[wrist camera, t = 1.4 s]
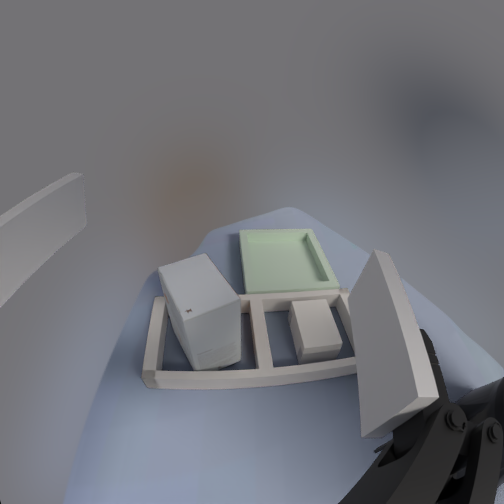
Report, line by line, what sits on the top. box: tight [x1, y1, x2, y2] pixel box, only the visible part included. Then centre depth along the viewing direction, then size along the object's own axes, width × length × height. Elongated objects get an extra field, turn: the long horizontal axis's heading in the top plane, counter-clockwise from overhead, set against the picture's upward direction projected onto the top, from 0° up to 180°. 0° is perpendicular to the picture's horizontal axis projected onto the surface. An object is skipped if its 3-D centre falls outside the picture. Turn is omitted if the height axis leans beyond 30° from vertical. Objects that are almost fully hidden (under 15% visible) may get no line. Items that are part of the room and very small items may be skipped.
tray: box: [239, 229, 340, 294], centre depth 43 cm, size 13×15×2 cm
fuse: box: [288, 299, 343, 365], centre depth 32 cm, size 5×7×4 cm, turn 6°
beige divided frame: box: [141, 288, 357, 390], centre depth 31 cm, size 26×12×3 cm, turn 96°
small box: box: [158, 253, 241, 371], centre depth 28 cm, size 8×6×10 cm
